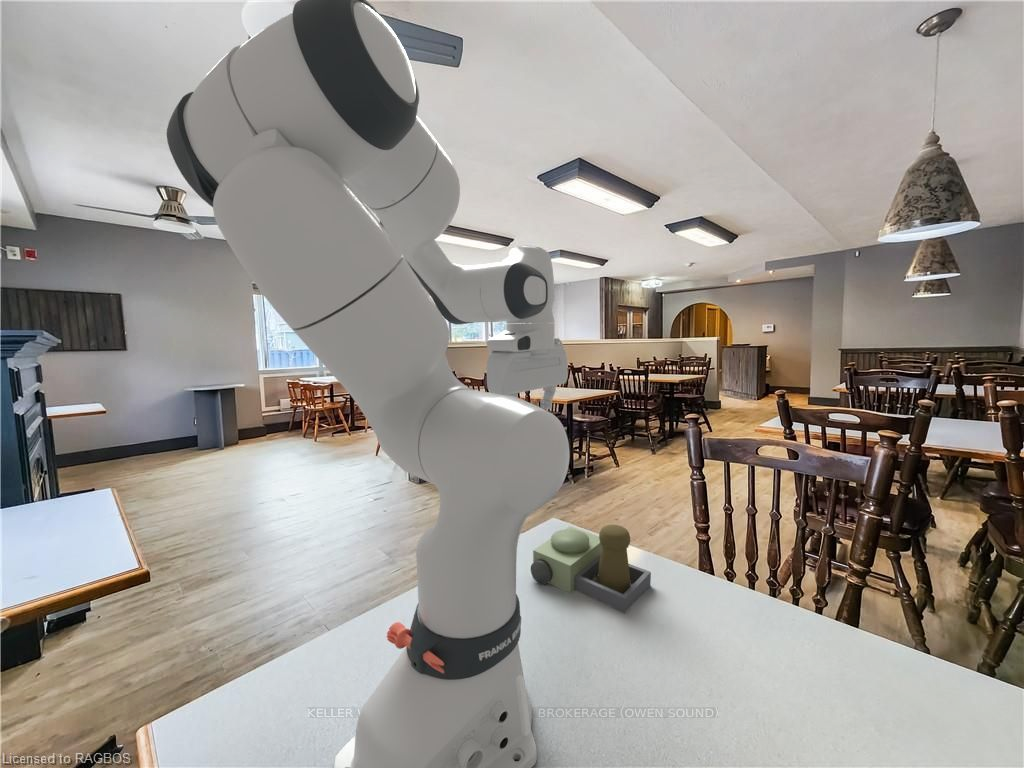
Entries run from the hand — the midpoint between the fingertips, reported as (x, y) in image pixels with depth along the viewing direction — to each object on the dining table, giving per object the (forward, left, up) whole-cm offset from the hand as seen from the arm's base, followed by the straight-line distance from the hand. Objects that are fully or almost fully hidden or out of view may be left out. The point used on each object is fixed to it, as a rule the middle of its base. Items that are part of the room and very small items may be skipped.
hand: (531, 412), depth 82 cm
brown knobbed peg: (+1, -17, -29) cm, 34 cm away
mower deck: (+1, -13, -29) cm, 32 cm away
